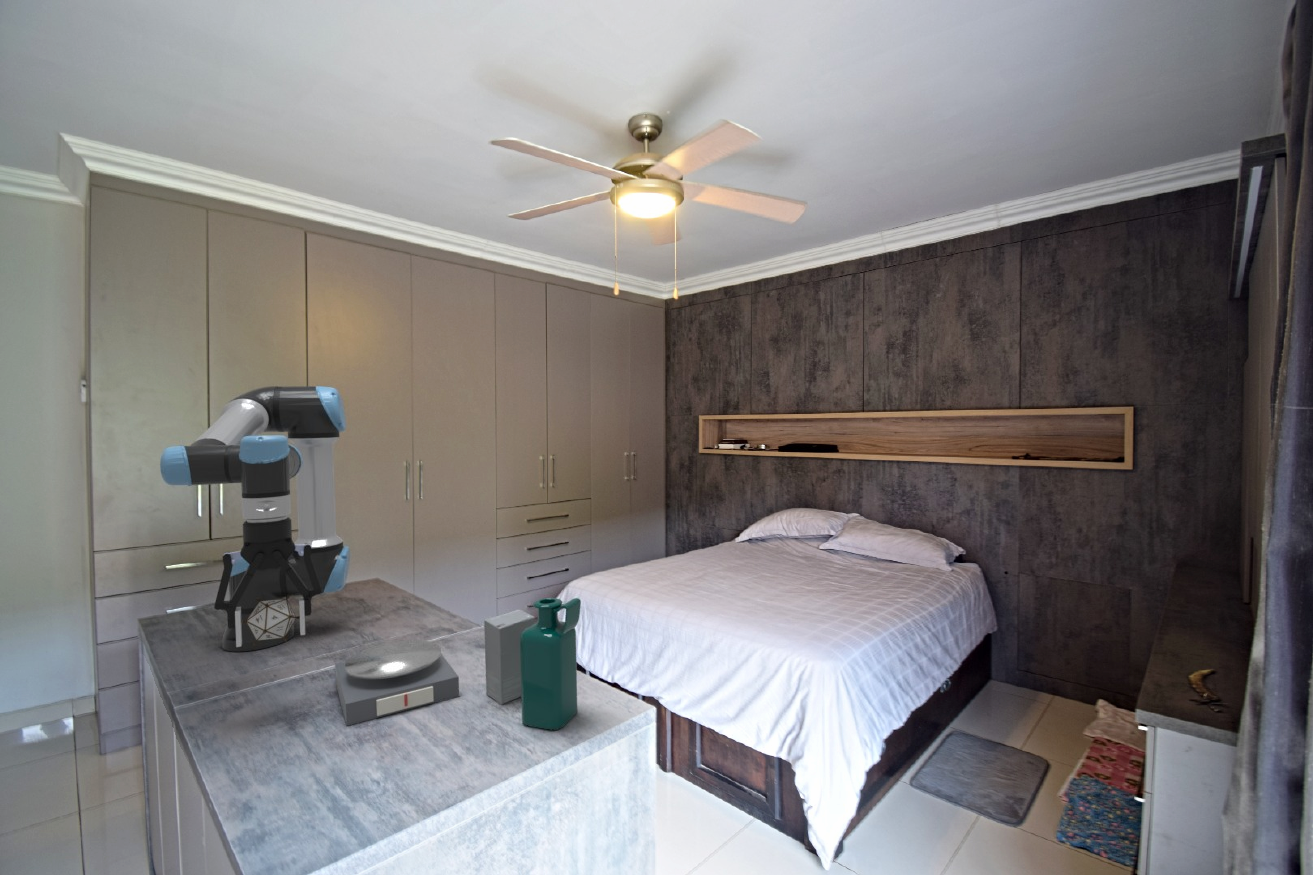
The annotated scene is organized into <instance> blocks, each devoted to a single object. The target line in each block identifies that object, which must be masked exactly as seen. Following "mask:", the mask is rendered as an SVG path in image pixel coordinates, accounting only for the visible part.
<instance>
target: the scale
mask: <svg viewBox="0 0 1313 875" xmlns="http://www.w3.org/2000/svg"><path fill="white" fill-rule="evenodd" d="M346 661H347V660H345V661H340V662H335V663H334V672H335V673H334V674H335V675H334V676H335V677H334V678H335V685H336V690H337V693H338V694H337V695H338V697H339V701H340V704H341V705H340V706H341V710H342V713H343V718H344V721H345V725H346V727H348V726H351V725H356V724H360V723H363V722H367V721H370V720H374V719H377V718H381V717H382V718H383V717H385V716H389V715H393V714H397V713H401V712H405V711H409V710H413V709H417V708H420V707H424V706H428V705H432V704H436V703H439V702H442V701H446V700H447V701H448V700H451V699H454V698H458V697H460V680H459V679H460V678H459V675H458V674H457V672H456V671H455V670H454V668H453V667H452V665H451V664H450V662H448V660H447V659H446V658H445V656H444V655H443V654H442V653H441V656H440V658H439V659H438V660H437V661H436V662H435V663H434V664H432V665H430V666H428V667H427V668H424V669H422V670H420V671H417V672H414V673H411V674H407V675H403V676H398V677H393V678H385V679H360V678H355V677H352V676H350V675H348V674H347V673H346V671H345V663H346Z"/></svg>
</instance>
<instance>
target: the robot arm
mask: <svg viewBox="0 0 1313 875" xmlns="http://www.w3.org/2000/svg"><path fill="white" fill-rule="evenodd" d="M346 427H347V424H346V413H345V408H344V404H343V399H342V397H341V394H340V392H339V391H338V390H337V389H336V388H335V387H330V386H321V385H320V386H319V385H316V386H313V385H312V386H310V385H309V386H308V385H307V386H306V385H305V386H296V385H295V386H277V385H275V386H274V385H273V386H263V387H260V388H256V389H252V390H250V391H247V392H245V393H244V392H243V393H242V394H240V395H239V396H237V397H235V398H233V399H232V400H230V401H229V402H228V403H226V405H225V406H223V408H222V410H221V413H220V417H219V418H218V419H217V420H216V421H214V423H213V424H212V425H210V426H209V427H208V428H207V429H206V430H205V431H204V432H203V433H202V434H201V435H200V436H199V437H198V438H196V440H194V441H193V443H192V444H190V445H184V444H183V445H179V446H169V447H166V448H165V449H164V450H163V451H162V454H161V457H160V461H159V463H160V464H159V469H160V470H159V471H160V475H161V477H162V480H163V481H164V482H165V483H166V484H167V485H169V486H187V487H191V486H206V485H222V484H223V485H224V484H227V485H228V484H240V485H241V487H240V488H241V511H242V512H241V513H242V514H241V516H242V517H241V518H242V519H243V520H245V521H243V523H242V537H243V539H242V540H243V541H242V544H243V545H242V547H241V549H240V550H237V551H233V552H230V551H225V552H224V553H223V555H222V564H223V569H222V570H223V571H222V576H221V577H220V578H221V579H220V582H219V587H218V591H217V594H216V597H215V598H216V599H215V603H214V605H213V609H215V611H221V610H222V611H225V612H226V613H227V614H226V616H227V618H226V619H227V624H226V627H225V630H224V632H223V636H222V641H221V642H222V649H223V650H224V651H228V652H236V653H237V652H249V651H256V650H263V649H267V648H271V647H274V646H276V645H280V644H283V643H285V642H286V641H284V640H283V638H278V639H270V640H261V641H257V643H256V644H255V645H254V643H253V642H254V641H256V639H255V637H254V635H253V634H252V632H251V630H250V628H249V626H248V625H247V623H246V622H245V623H242V622H240V621H242V620H247V619H248V617H249V616H250V614H251V613H252V611H253V610H254V609H255V607H256V606H257V604H258V603H259V602H258V601H257V598H260V599H261V601H266V600H277V599H286V597H287V596H288V595H290V597H291V598H292V597H298V609H299V610H298V613H299V615H298V616H300V619H299V633H300V636H305V635H306V618H305V617H308V616H311V614H312V598H313V597H315V596H317V595H321V594H323V595H325V594H327V593H334V592H339V591H342V589H344V587H345V585H346V584H347V582H346V581H347V579H348V574H349V573H348V572H349V566H350V559H351V547H349V546H347V545H344V540H343V538H342V537H340V536H339V535H338V534H337V522H336V521H337V520H336V519H337V517H336V513H337V512H336V489H335V487H336V486H335V484H336V483H335V461H334V460H335V459H334V458H335V457H334V455H335V454H334V444H335V443H336V442H337V441H338V440H339V439H340V437H341V436H340V433H342V432H344V431H346V429H347V428H346ZM262 433H287V436H285V435H283V434H282V435H281V434H280V435H279V434H278V435H277V434H272V435H264V434H263V435H262ZM289 442H290V443H292V444H293V445H292V444H290V443H289ZM295 476H296V499H297V500H296V502H297V504H296V505H297V506H296V507H297V524H298V526H297V527H298V529H297V530H298V538H296V540H295V541H293V535H292V534H293V533H292V532H293V531H292V529H293V528H292V519H291V518H290V517H289V516H291V514H292V506H291V505H292V504H291V502H292V500H291V490H290V488H291V484H290V483H291V481H290V480H291V479H292V478H294V477H295ZM227 590H229V593H228V594H229V601H227V600H225V598H226V595H227ZM301 596H302V597H301ZM290 597H289V598H290ZM294 636H295V627H294V623H293V624H292V626H291V628H290V629H289V631H288V632H287V634H286V636H285V638H286V639H287V641H289V640H291V639H293V637H294Z"/></svg>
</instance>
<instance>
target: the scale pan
mask: <svg viewBox="0 0 1313 875" xmlns="http://www.w3.org/2000/svg"><path fill="white" fill-rule="evenodd" d="M441 654H442V649H441V646H440V645H439V644H437V643H435V642H433V641H428V640H421V639H409V640H408V639H407V640H406V639H405V640H397V641H390V642H386V643H381V644H378V645H373V646H371V647H368V648H365V649H363V650H360V651H359V652H357V653H355V654H353V655H352V656H350V657H349V658H348V659H347V660H345V661H346V663H345V671H346V673H347V674H348V675H350V676H352V677H355V678H360V679H385V678H393V677H398V676H403V675H407V674H411V673H414V672H417V671H420V670H422V669H424V668H427V667H428V666H430V665H432V664H434V663H435V662H436V661H437V660H438V659H439V658H440V656H441Z"/></svg>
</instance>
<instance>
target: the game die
mask: <svg viewBox="0 0 1313 875" xmlns="http://www.w3.org/2000/svg"><path fill="white" fill-rule="evenodd" d="M289 598H290V595H288V596H287V597H285V599H277V600H266V601H261V599H260V598H257V601H258V602H259V603H258V604H257V606H256V607H255V609H254V610H253V611H252V613H251V614H250V616H249V617H248V619H247V620H242V621H240V622H242V623H245V622H246V623H247V625H248V626H249V628H250V630H251V632H252V634H253V635H254V637H255V639H256V641H254V642H253V643H254V645H255V644H256V643H257V641H261V640H270V639H278V638H283V640H284V641H285V642H287V641H288V640H287V639H286V638H285V636H286V634H287V632H288V631H289V629H290V628H291V626H292V624H293V625H294V623H295V621H296V620H300V615H298V616H296V614H295V612H294V610H293V608H292V606H291V604H290V602H289V601H288V599H289Z"/></svg>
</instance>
